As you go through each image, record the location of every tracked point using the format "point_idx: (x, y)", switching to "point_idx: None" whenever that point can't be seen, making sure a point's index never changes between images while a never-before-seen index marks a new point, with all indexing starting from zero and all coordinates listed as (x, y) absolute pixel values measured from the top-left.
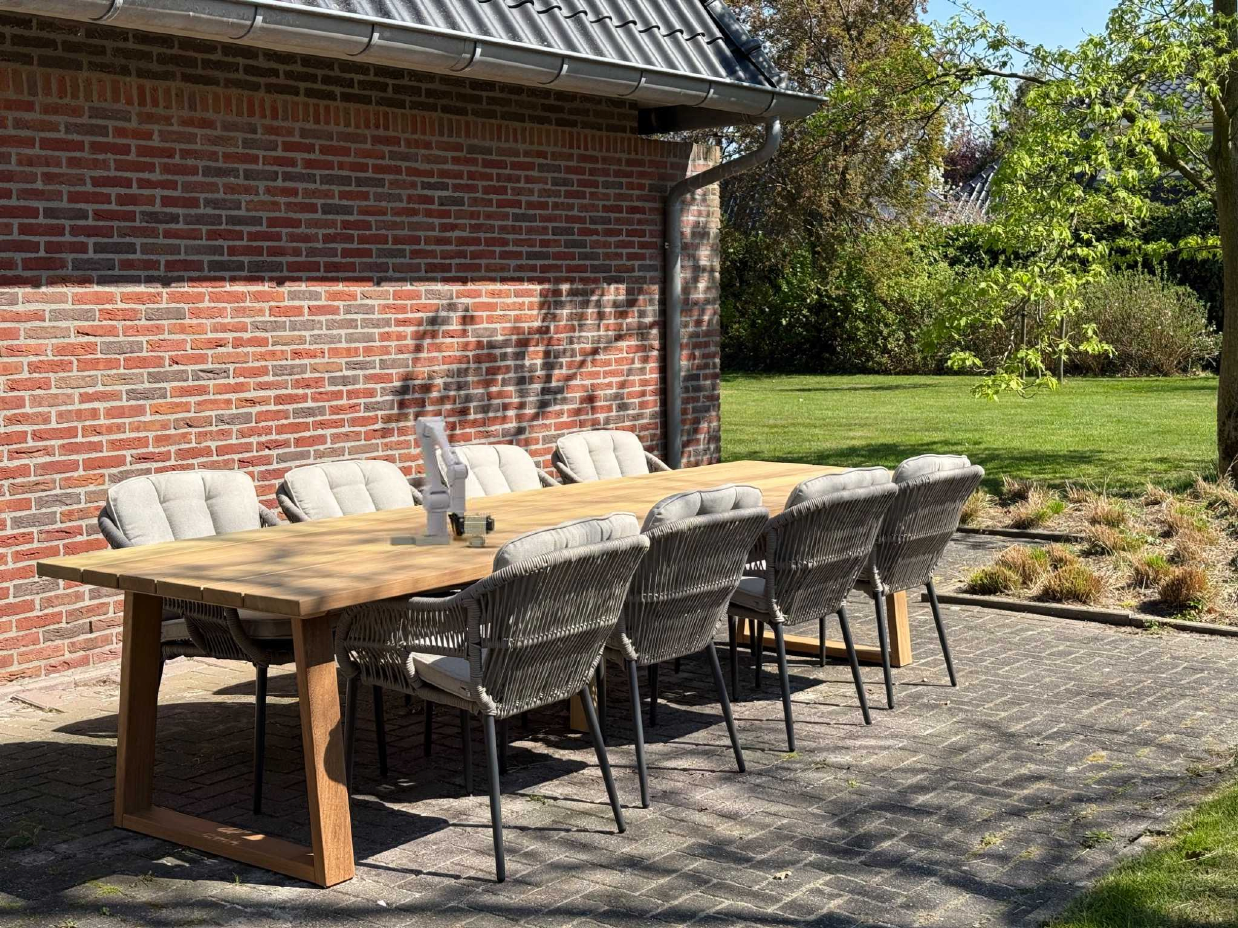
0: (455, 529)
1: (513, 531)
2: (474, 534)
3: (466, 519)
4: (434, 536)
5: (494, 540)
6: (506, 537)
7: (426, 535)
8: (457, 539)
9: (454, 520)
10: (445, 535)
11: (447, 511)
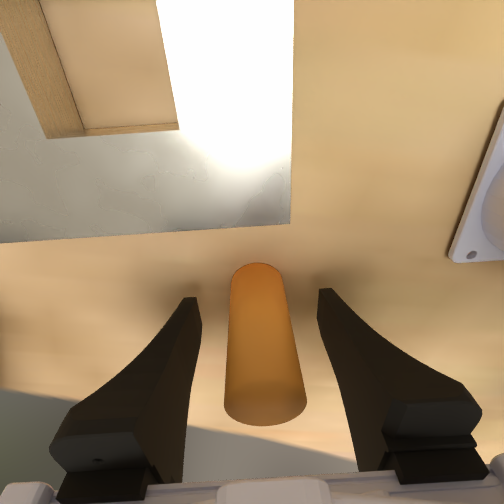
0: (236, 322)
1: None
2: None
3: None
4: (31, 105)
5: (192, 405)
6: (271, 436)
7: (157, 7)
8: (231, 282)
9: (84, 401)
10: (116, 222)
11: (226, 489)
